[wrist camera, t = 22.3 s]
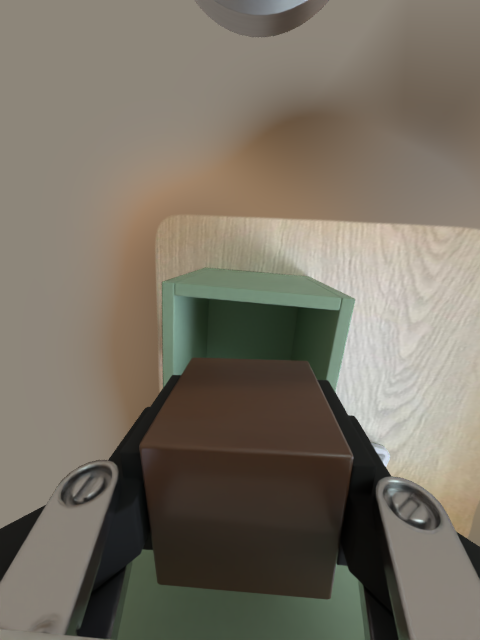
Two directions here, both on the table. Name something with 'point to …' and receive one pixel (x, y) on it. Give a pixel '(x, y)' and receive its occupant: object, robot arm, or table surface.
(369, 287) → the table surface
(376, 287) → the table surface
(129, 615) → the green box lid
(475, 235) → the table surface
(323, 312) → the box
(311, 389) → the block
